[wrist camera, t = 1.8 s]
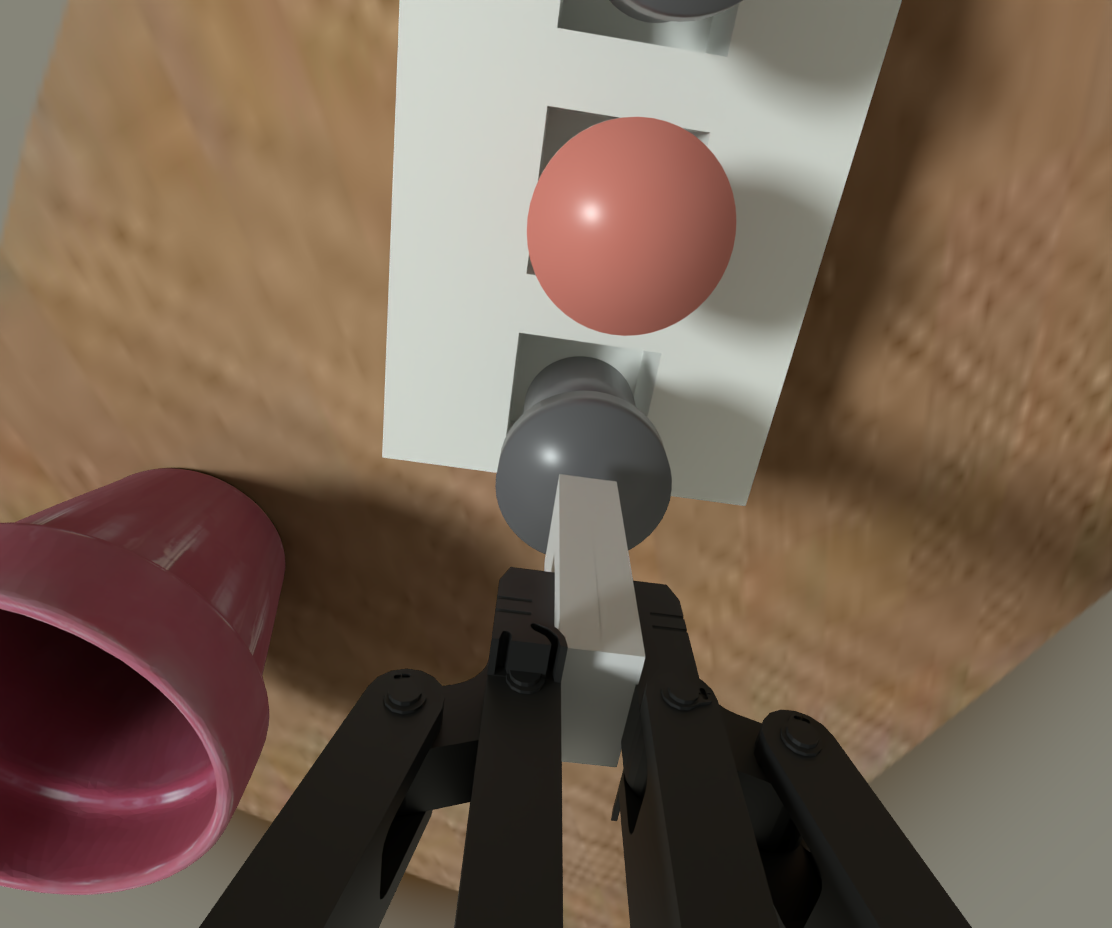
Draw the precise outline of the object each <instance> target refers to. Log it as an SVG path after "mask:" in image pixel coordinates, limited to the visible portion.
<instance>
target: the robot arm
mask: <svg viewBox="0 0 1112 928" xmlns="http://www.w3.org/2000/svg"><path fill="white" fill-rule="evenodd" d="M686 631H687V628H686V624H685V620H684V619H683V613H682V609H681V605H680V601H679V599H678V598H677V597H676V596H675V594H674V593H673V592H672V591H671V589H670V588H669V587H668V586H667V585H664V584H656V583H648V582H640V581H633V578H632V572H631V566H630V560H629V554H628V548H627V542H626V535H625V529H624V523H623V517H622V511H621V505H620V499H619V493H618V487H617V482H616V481H608V480H600V479H593V478H585V477H578V476H570V475H563V474H559V479H558V485H557V491H556V497H555V503H554V509H553V515H552V521H551V527H550V533H549V539H548V545H547V551H546V557H545V568H544V571H538V570H530V569H522V568H514V567H510V568H509V570H508V571H507V572H506V573H505V574H504V575H503V576H502V577H501V579H500V580H499V587H498V595H497V602H496V610H495V617H494V625H493V632H492V640H491V647H490V655H489V660H488V663H487V665H486V667H485V668H484V669H483V671H482V672H481V673H479V674H478V675H477V676H476V677H474V678H472V679H470V680H468V681H466V682H462V683H458V684H454V685H447V686H442V685H441V684H440V683H439V682H438V681H437V680H436V679H435V678H434V677H433V676H431V675H429V674H427V673H425V672H423V671H419V670H412V669H401V670H393V671H390V672H388V673H385V674H383V675H381V676H379V677H377V678H376V679H375V680H374V681H373V682H372V683H371V684H370V685H369V686H368V687H367V689H366V690H365V692H364V693H363V694H362V696H361V697H360V699H359V700H358V701H357V703H356V704H355V706H354V707H353V709H352V710H351V711H350V713H349V714H348V716H347V717H346V719H345V720H344V721H343V723H342V724H341V726H340V727H339V729H338V730H337V731H336V733H335V734H334V736H333V737H332V739H331V740H330V741H329V743H328V744H327V746H326V747H325V749H324V750H323V751H322V753H321V754H320V756H319V757H318V759H317V760H316V761H315V763H314V764H313V766H312V767H311V769H310V770H309V771H308V773H307V774H306V776H305V777H304V779H303V780H302V781H301V783H300V784H299V786H298V787H297V789H296V790H295V791H294V793H293V794H292V796H291V797H290V799H289V800H288V801H287V803H286V804H285V806H284V807H283V808H282V810H281V811H280V813H279V814H278V816H277V817H276V818H275V820H274V821H273V823H272V824H271V826H270V827H269V829H268V830H267V831H266V833H265V834H264V836H263V837H262V838H261V840H260V841H259V843H258V844H257V846H256V847H255V849H254V850H253V851H252V853H251V854H250V856H249V857H248V858H247V860H246V861H245V863H244V864H243V866H242V867H241V868H240V870H239V871H238V873H237V874H236V876H235V877H234V878H233V880H232V881H231V883H230V884H229V886H228V887H227V888H226V890H225V891H224V893H223V894H222V896H221V897H220V898H219V900H218V901H217V903H216V904H215V906H214V907H213V908H212V910H211V911H210V913H209V914H208V916H207V917H206V918H205V920H204V921H203V923H202V924H201V926H200V927H199V928H379V926H380V924H381V922H382V919H383V917H384V915H385V913H386V910H387V909H388V907H389V905H390V902H391V900H392V898H393V896H394V893H395V892H396V890H397V887H398V885H399V883H400V881H401V879H402V877H403V875H404V873H405V870H406V868H407V866H408V864H409V862H410V860H411V858H412V855H413V853H414V851H415V849H416V847H417V845H418V843H419V840H420V838H421V836H422V834H423V832H424V830H425V828H426V825H427V823H428V821H429V819H430V817H431V814H432V810H434V809H439V808H443V807H448V806H453V805H458V804H462V803H467V802H470V808H469V816H468V824H467V831H466V839H465V847H464V855H463V863H462V871H461V878H460V886H459V894H458V902H457V910H456V918H455V925H454V928H563V866H562V762H572V763H581V764H591V765H600V766H609V767H617V764H618V760H619V756H620V752H621V748H622V757H623V767H624V769H623V773H622V777H621V780H620V784H619V788H618V792H617V795H616V799H615V803H614V806H613V811H612V818H611V820H612V821H617V819H618V816H619V812H620V814H621V825H622V837H623V848H624V860H625V871H626V883H627V894H628V905H629V917H630V928H972V927H971V926H970V924H969V923H968V922H967V920H966V919H965V918H964V916H963V915H962V913H961V912H960V911H959V909H958V908H957V906H956V905H955V904H954V902H953V901H952V900H951V898H950V897H949V895H948V894H947V893H946V891H945V890H944V888H943V887H942V886H941V885H940V883H939V882H938V880H937V879H936V877H935V876H934V875H933V873H932V872H931V871H930V869H929V868H928V866H927V865H926V864H925V862H924V861H923V859H922V858H921V857H920V855H919V854H918V852H917V851H916V850H915V848H914V847H913V846H912V844H911V843H910V841H909V840H908V839H907V837H906V836H905V835H904V833H903V832H902V830H901V829H900V828H899V826H898V825H897V824H896V822H895V821H894V819H893V818H892V817H891V815H890V814H889V812H888V811H887V810H886V808H885V807H884V805H883V804H882V803H881V801H880V800H879V799H878V797H877V796H876V794H875V793H874V792H873V790H872V789H871V788H870V786H869V785H868V783H867V782H866V780H865V779H864V778H863V776H862V775H861V774H860V772H859V771H858V769H857V768H856V767H855V765H854V764H853V762H852V761H851V760H850V758H849V757H848V756H847V754H846V753H845V751H844V750H843V749H842V747H841V746H840V744H839V743H838V742H837V740H836V739H835V738H834V736H833V735H832V734H831V733H830V732H829V731H828V730H827V729H826V728H825V727H824V726H823V725H822V724H821V723H819V722H818V721H816V720H814V719H813V718H811V717H810V716H808V715H805V714H802V713H799V712H796V711H790V710H778V711H775V712H771V713H769V715H768V716H767V717H766V718H765V719H764V720H763V722H762V723H759V722H756V721H754V720H751V719H748V718H746V717H743V716H740V715H737V714H735V713H733V712H731V711H729V710H727V709H725V708H724V707H722V706H721V705H719V704H718V700H717V698H716V696H715V694H714V692H713V691H712V689H711V688H710V687H709V686H708V685H707V684H706V683H704V682H703V681H702V680H701V679H699V675H698V671H697V667H696V663H695V660H694V656H693V652H692V648H691V644H690V640H689V636H688V633H687V632H686Z"/></svg>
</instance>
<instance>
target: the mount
mask: <svg viewBox="0 0 1112 928" xmlns="http://www.w3.org/2000/svg"><path fill="white" fill-rule="evenodd" d="M901 2H902V0H743V1H741V2H740V3H738V4H737V5H735V6H733V7H732V8H730V9H728V10H726V11H724V12H722V13H720V14H717V15H714V16H711V17H709V18H705V19H700V20H695V21H683V22H677V21H669V22H665V23H649V22H643V21H639V20H636V19H634V18H632V17H629V16H628V15H626V14H624V13H623V12H621V11H620V10H619V9H617V8H616V7H615V6H614V5H613V4H612V3H611V2H610V1H609V0H400V6H399V32H398V59H397V85H396V111H395V138H394V164H393V190H392V216H391V243H390V269H389V295H388V322H387V348H386V374H385V400H384V427H383V453H382V457H384V458H391V459H399V460H406V461H414V462H421V463H429V464H436V465H444V466H451V467H459V468H466V469H473V470H481V471H488V472H496V473H497V469H498V464H499V459H500V453H501V448H502V446H503V443H504V440H505V438H506V436H507V434H508V432H509V430H510V429H511V427H512V426H513V424H514V423H515V422H516V420H517V419H518V418H519V417H520V416H521V415H522V414H523V408H524V401H525V396H526V393H527V390H528V388H529V386H530V384H531V382H532V381H533V379H534V378H535V377H536V376H537V375H538V373H539V372H540V371H542V370H543V369H544V368H545V367H547V366H548V365H550V364H551V363H553V362H556V361H558V360H560V359H564V358H568V357H573V356H585V357H592V358H596V359H599V360H602V361H604V362H606V363H608V364H610V365H611V366H613V367H614V368H616V369H617V370H618V371H619V372H620V373H621V374H622V375H623V376H624V378H625V379H626V381H627V382H628V384H629V386H630V388H631V390H632V394H633V397H634V401H635V405H636V408H638V409H639V410H640V411H641V412H642V413H644V414H645V415H646V416H647V418H648V419H649V420H650V421H651V422H652V423H653V425H654V426H655V428H656V430H657V431H658V433H659V435H660V437H661V440H662V442H663V445H664V449H665V452H666V455H667V458H668V462H669V465H670V469H671V476H672V491H671V496H675V497H683V498H690V499H697V500H705V501H712V502H720V503H727V504H735V505H742V506H746V503H747V500H748V496H749V493H750V490H751V487H752V483H753V480H754V477H755V474H756V470H757V467H758V464H759V461H760V458H761V454H762V451H763V448H764V445H765V441H766V438H767V435H768V432H769V428H770V425H771V422H772V419H773V416H774V412H775V409H776V406H777V403H778V399H779V396H780V393H781V390H782V386H783V383H784V380H785V377H786V373H787V370H788V367H789V364H790V361H791V357H792V354H793V351H794V348H795V344H796V341H797V338H798V335H799V331H800V328H801V325H802V322H803V319H804V315H805V312H806V309H807V306H808V302H809V299H810V296H811V293H812V289H813V286H814V283H815V280H816V276H817V273H818V270H819V267H820V264H821V260H822V257H823V254H824V251H825V247H826V244H827V241H828V238H829V234H830V231H831V228H832V225H833V222H834V218H835V215H836V212H837V209H838V205H839V202H840V199H841V196H842V192H843V189H844V186H845V183H846V179H847V176H848V173H849V170H850V167H851V163H852V160H853V157H854V154H855V150H856V147H857V144H858V141H859V137H860V134H861V131H862V128H863V125H864V121H865V118H866V115H867V112H868V108H869V105H870V102H871V99H872V95H873V92H874V89H875V86H876V82H877V79H878V76H879V73H880V70H881V66H882V63H883V60H884V57H885V53H886V50H887V47H888V44H889V40H890V37H891V34H892V31H893V28H894V24H895V21H896V18H897V15H898V11H899V8H900V5H901ZM623 117H647V118H655V119H659V120H663V121H667V122H670V123H672V124H674V125H677V126H679V127H681V128H683V129H685V130H686V131H688V132H690V133H691V134H693V135H694V136H695V137H697V138H698V139H699V140H700V141H702V142H703V143H704V144H705V145H706V146H707V147H708V148H709V149H710V151H711V152H712V153H713V154H714V155H715V157H716V158H717V160H718V161H719V163H720V164H721V165H722V167H723V169H724V171H725V173H726V175H727V177H728V180H729V183H730V186H731V189H732V192H733V196H734V201H735V206H736V236H735V241H734V247H733V251H732V254H731V257H730V260H729V263H728V266H727V268H726V270H725V272H724V274H723V276H722V278H721V280H720V281H719V283H718V285H717V286H716V288H715V289H714V290H713V292H712V293H711V294H710V295H709V297H708V298H707V299H706V300H705V301H704V302H703V303H702V304H701V305H700V306H699V307H698V308H697V309H696V310H695V311H693V312H692V313H691V314H689V315H688V316H687V317H685V318H684V319H682V320H680V321H679V322H677V323H675V324H673V325H671V326H669V327H667V328H664V329H662V330H659V331H655V332H652V333H648V334H642V335H632V336H621V335H611V334H606V333H601V332H598V331H595V330H592V329H590V328H587V327H585V326H583V325H581V324H579V323H577V322H576V321H574V320H573V319H571V318H570V317H568V316H567V315H565V314H564V313H563V312H562V311H561V310H560V309H559V308H558V307H557V306H556V305H555V304H554V303H553V302H552V301H551V299H550V298H549V297H548V296H547V294H546V293H545V291H544V290H543V288H542V287H541V285H540V283H539V281H538V279H537V277H536V275H535V273H534V269H533V266H532V263H531V260H530V256H529V251H528V245H527V218H528V212H529V207H530V202H531V199H532V196H533V193H534V190H535V187H536V185H537V183H538V180H539V178H540V176H541V174H542V172H543V170H544V169H545V167H546V166H547V164H548V162H549V161H550V160H551V158H552V157H553V156H554V155H555V153H556V152H557V151H558V150H559V149H560V148H561V147H562V146H563V145H564V144H565V143H566V142H567V141H568V140H570V139H571V138H572V137H574V136H575V135H577V134H578V133H579V132H581V131H583V130H585V129H587V128H589V127H591V126H592V125H595V124H598V123H601V122H603V121H606V120H611V119H616V118H623Z"/></svg>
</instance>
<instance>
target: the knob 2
mask: <svg viewBox="0 0 1112 928" xmlns="http://www.w3.org/2000/svg"><path fill="white" fill-rule="evenodd" d="M609 1H610V2H611V3H612V4H613V5H614V6H615V7H616V8H617V9H619V10H620V11H621V12H623V13H624V14H626V15H628V16H629V17H632V18H634V19H636V20H639V21H643V22H649V23H665V22H669V21H677V22H683V21H695V20H700V19H705V18H709V17H711V16H714V15H717V14H720V13H722V12H724V11H726V10H728V9H730V8H732V7H733V6H735V5H737V4H738V3H740V2H741V1H743V0H609Z"/></svg>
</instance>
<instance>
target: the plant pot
mask: <svg viewBox="0 0 1112 928" xmlns="http://www.w3.org/2000/svg"><path fill="white" fill-rule="evenodd" d="M284 574H285V554H284V548H283V545H282V542H281V539H280V536H279V534H278V532H277V530H276V528H275V527H274V525H273V524H272V522H271V520H270V519H269V518H268V516H267V515H266V514H265V513H264V511H263V510H262V509H261V508H260V507H259V506H258V505H257V504H256V503H255V502H254V501H253V500H251V499H250V498H249V497H248V496H246V495H245V494H244V493H242V492H241V491H239V490H238V489H236V488H235V487H233V486H231V485H230V484H228V483H226V482H224V481H222V480H220V479H218V478H215V477H213V476H210V475H207V474H203V473H200V472H196V471H191V470H185V469H173V468H165V469H152V470H147V471H143V472H139V473H136V474H133V475H130V476H128V477H125V478H123V479H121V480H119V481H116V482H114V483H111V484H109V485H106V486H104V487H101V488H98V489H96V490H93V491H90V492H88V493H85V494H83V495H80V496H78V497H75V498H73V499H70V500H67V501H65V502H62V503H60V504H57V505H55V506H53V507H50V508H48V509H45V510H43V511H41V512H38V513H36V514H34V515H31V516H29V517H26V518H24V519H22V520H19V521H17V522H15V523H0V886H4V887H10V888H15V889H21V890H27V891H34V892H41V893H53V894H70V895H86V894H102V893H110V892H118V891H124V890H129V889H133V888H137V887H141V886H145V885H149V884H152V883H155V882H157V881H160V880H162V879H165V878H168V877H170V876H172V875H173V874H175V873H177V872H179V871H181V870H183V869H185V868H187V867H188V866H190V865H191V864H192V863H194V862H195V861H197V860H198V859H199V858H201V857H202V856H203V855H204V854H205V853H206V852H207V851H209V849H211V848H212V846H213V845H214V844H215V843H216V842H217V841H218V839H219V838H220V837H221V835H222V834H223V832H224V830H225V829H226V827H227V825H228V823H229V821H230V819H231V818H232V815H233V814H234V812H235V810H236V808H237V806H238V804H239V802H240V799H241V797H242V795H243V793H244V791H245V788H246V786H247V784H248V782H249V780H250V778H251V775H252V773H253V771H254V768H255V766H256V763H257V761H258V759H259V756H260V754H261V751H262V748H263V746H264V743H265V740H266V735H267V731H268V726H269V705H268V697H267V691H266V688H265V684H264V681H263V677H262V674H263V670H264V666H265V661H266V657H267V653H268V649H269V644H270V640H271V635H272V630H273V626H274V621H275V616H276V612H277V607H278V602H279V597H280V593H281V588H282V583H283V579H284Z"/></svg>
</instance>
